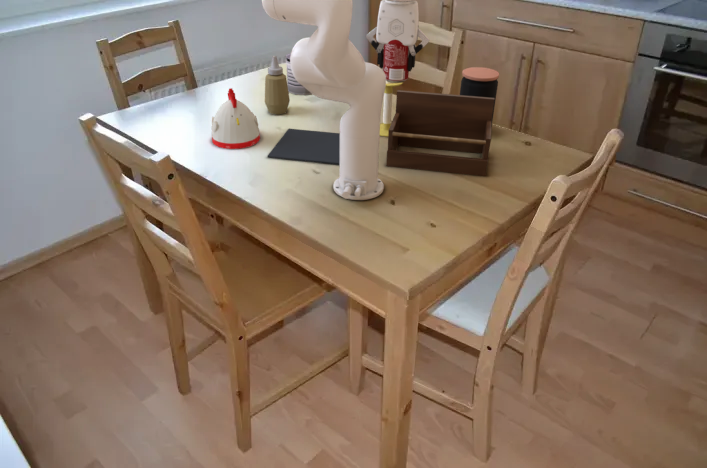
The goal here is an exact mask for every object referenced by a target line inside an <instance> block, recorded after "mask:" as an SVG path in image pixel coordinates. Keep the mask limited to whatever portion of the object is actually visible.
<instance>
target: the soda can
mask: <svg viewBox="0 0 707 468" xmlns="http://www.w3.org/2000/svg"><path fill="white" fill-rule="evenodd" d="M383 49H384V52H383V68H382V70H383V71H384V73H385V76H386V81H387V82H390V83H402V82H403V83H404V82H405V81H407V80H409V75H410V73H409V72H410V71H408V59H409V55H410V50H409V48H408V46H404V45H403V43H402V42H400V41H399V40H391V41H389V42H388V44H384V48H383Z"/></svg>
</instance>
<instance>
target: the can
mask: <svg viewBox="0 0 707 468" xmlns="http://www.w3.org/2000/svg"><path fill="white" fill-rule="evenodd" d="M290 56H291V52H290V53H287V54H286V55H285V56H284V58H285V65H286V79H287V86H288V92H289V94H293V95H296V96H297V95H299V96H307V95H313V94H312V93H311V92H310V91H308V90H307V89H306V88H305V87H303V86H302V85H301V84H300V83H299V82H298V81H297V80H296V79H295V78H294V76H293V73H292V70H291V66H290Z"/></svg>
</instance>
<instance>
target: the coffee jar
mask: <svg viewBox="0 0 707 468" xmlns="http://www.w3.org/2000/svg"><path fill="white" fill-rule="evenodd" d="M461 75H462V77H461V80H460V89H459V95H464V96H476V97H489V98H494V106H493V112H492V119H491V128H493V127H492V126H493V122H494V121H493V120H494V114H495V113H494V112H495V107H496V100H497V93H498V86H499V80H498V79H499V78H500V73H499V71H498V70H496V69H493V68H489V67H484V66H483V67H481V66H473V67H467V68H464V69H463V70H462V72H461Z"/></svg>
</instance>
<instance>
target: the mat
mask: <svg viewBox="0 0 707 468" xmlns="http://www.w3.org/2000/svg"><path fill="white" fill-rule="evenodd" d="M267 158H268V159H277V160H287V161H295V162H305V163H316V164H324V165H334V166H340V132H331V131H330V132H329V131H318V130H310V129H309V130H308V129H299V128H298V129H297V128H288V129H287V130H286V131H285V133H284V134H283V135H282V136H281V138H280V139H279V140H278V142H277V143H276V144H275V146H274V147H273V148H272V149H271V151H270V152H269V153H268V154H267Z"/></svg>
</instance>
